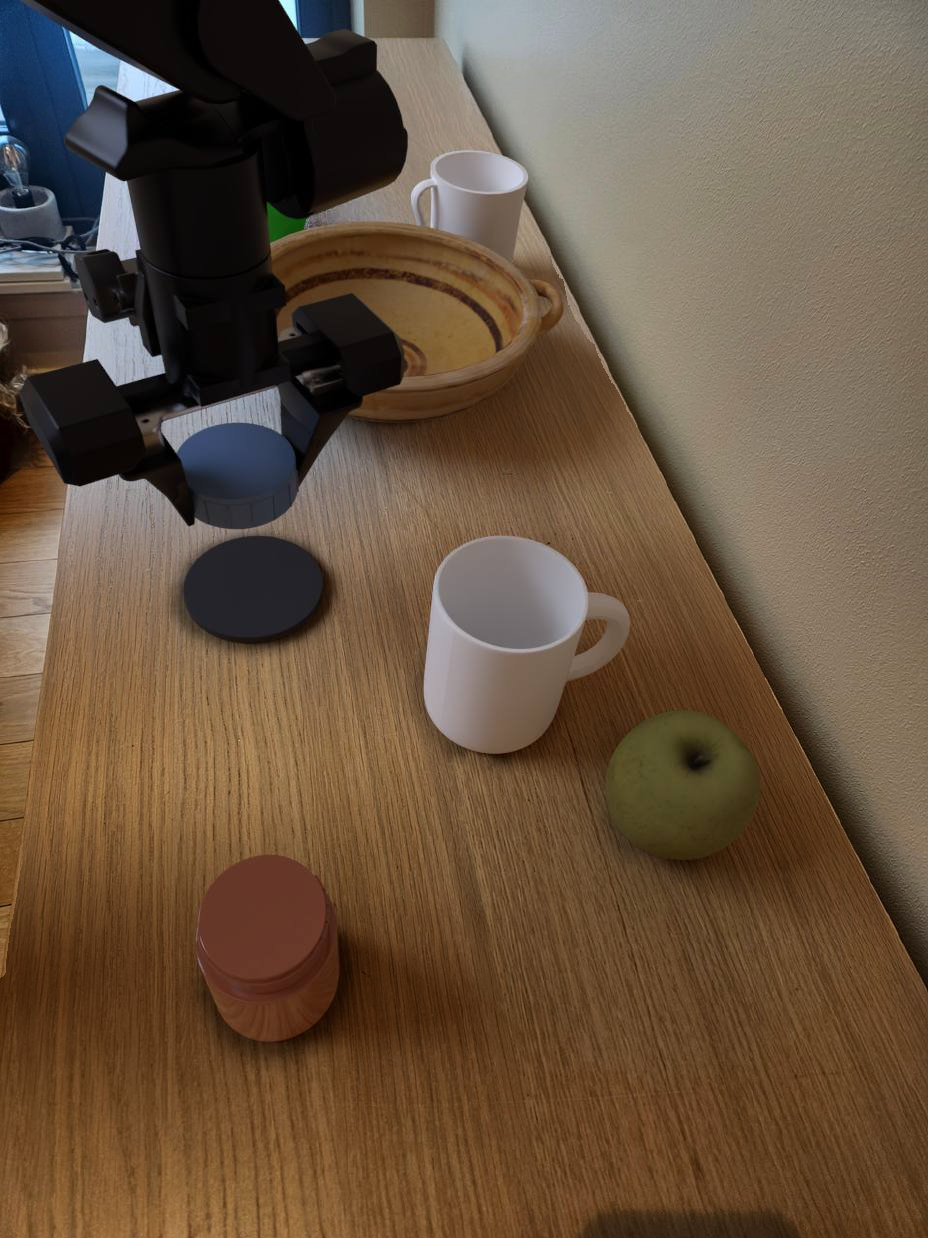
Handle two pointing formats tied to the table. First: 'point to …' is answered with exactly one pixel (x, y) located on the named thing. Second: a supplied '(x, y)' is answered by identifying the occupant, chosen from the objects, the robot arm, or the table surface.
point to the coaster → (253, 589)
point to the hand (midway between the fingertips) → (242, 501)
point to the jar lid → (239, 475)
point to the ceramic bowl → (422, 308)
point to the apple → (682, 785)
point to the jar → (268, 947)
